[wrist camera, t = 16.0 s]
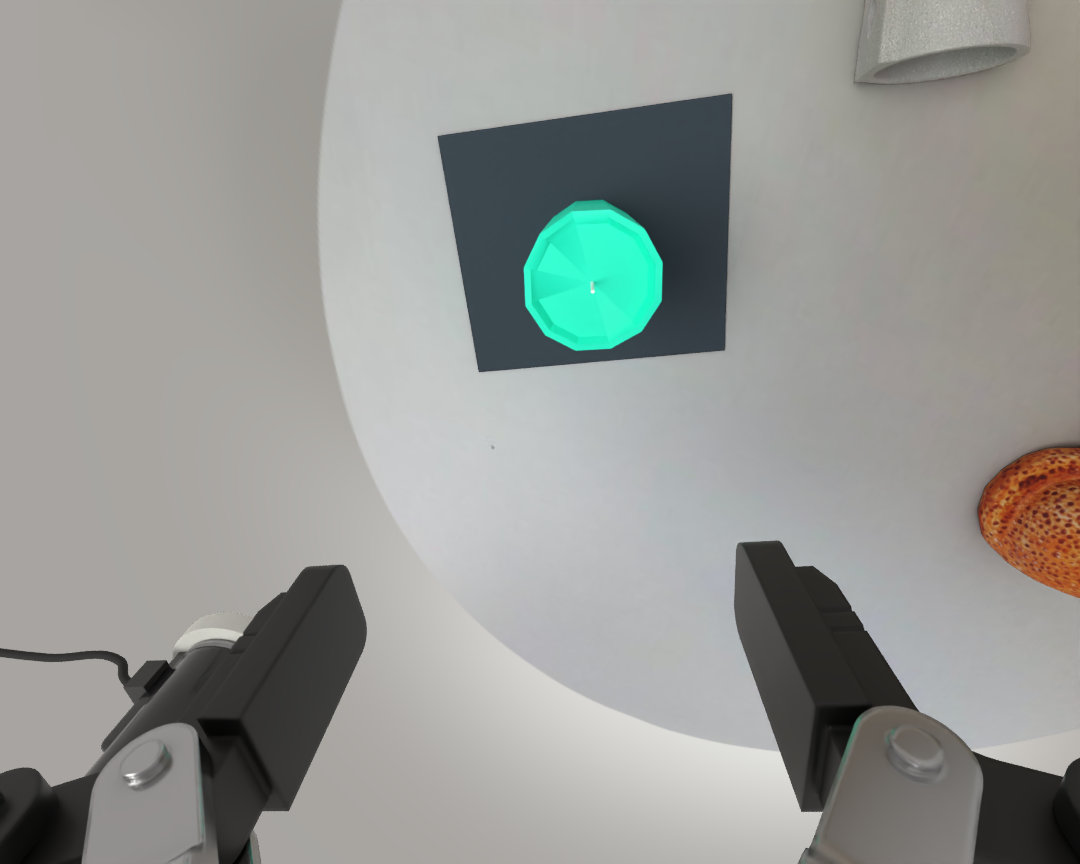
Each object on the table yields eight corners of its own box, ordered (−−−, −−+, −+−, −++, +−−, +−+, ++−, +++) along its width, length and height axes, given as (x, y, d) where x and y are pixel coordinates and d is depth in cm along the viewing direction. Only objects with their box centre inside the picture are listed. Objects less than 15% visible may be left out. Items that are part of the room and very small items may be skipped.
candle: (653, 211, 31) (690, 229, 20) (625, 312, 33) (644, 377, 22) (552, 187, 31) (533, 193, 20) (531, 291, 33) (505, 346, 22)
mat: (479, 371, 36) (478, 372, 36) (437, 136, 30) (437, 135, 30) (724, 350, 34) (724, 350, 34) (731, 93, 28) (732, 93, 28)
